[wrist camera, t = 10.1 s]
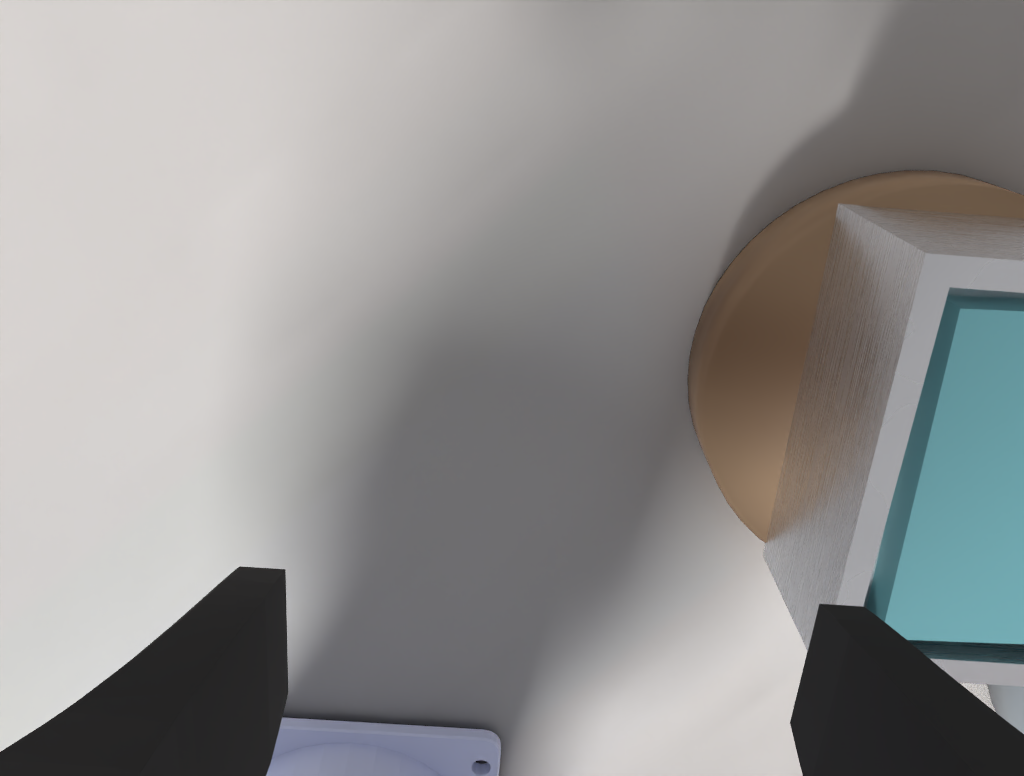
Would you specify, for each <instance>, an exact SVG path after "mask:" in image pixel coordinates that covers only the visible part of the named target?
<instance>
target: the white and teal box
mask: <svg viewBox="0 0 1024 776" xmlns="http://www.w3.org/2000/svg"><path fill="white" fill-rule="evenodd" d="M947 295H958V296H982V297H1005V298H1024V218H1013V217H1000V216H988V215H975V214H963V213H950V212H937V211H925V210H912V209H900V208H887V207H875V206H862V205H851V204H839V203H838V208H837V212H836V218H835V223H834V228H833V232H832V237H831V242H830V246H829V251H828V256H827V260H826V265H825V270H824V274H823V279H822V284H821V288H820V293H819V298H818V302H817V307H816V312H815V316H814V321H813V326H812V330H811V335H810V339H809V344H808V349H807V353H806V358H805V363H804V367H803V372H802V377H801V381H800V386H799V391H798V395H797V400H796V405H795V409H794V414H793V419H792V423H791V428H790V433H789V437H788V442H787V447H786V451H785V456H784V461H783V465H782V470H781V474H780V479H779V484H778V488H777V493H776V498H775V502H774V507H773V512H772V516H771V521H770V526H769V530H768V535H767V540H766V543H765V548H764V552H763V557H764V559H765V561H766V563H767V565H768V567H769V570H770V572H771V574H772V576H773V578H774V580H775V582H776V585H777V587H778V589H779V591H780V593H781V595H782V597H783V600H784V602H785V604H786V606H787V608H788V610H789V612H790V615H791V617H792V619H793V621H794V623H795V625H796V627H797V629H798V632H799V634H800V636H801V638H802V640H803V642H804V644H805V647H806V649H807V651H808V648H809V644H810V640H811V636H812V632H813V628H814V623H815V619H816V615H817V611H818V607H819V604H832V605H847V606H863V607H865V608H866V607H867V603H868V598H869V594H870V590H871V585H872V581H873V577H874V572H875V568H876V564H877V559H878V555H879V551H880V546H881V542H882V538H883V533H884V529H885V525H886V520H887V517H888V513H889V509H890V506H891V502H892V498H893V495H894V491H895V487H896V483H897V480H898V476H899V472H900V469H901V465H902V461H903V458H904V454H905V450H906V447H907V443H908V439H909V435H910V432H911V428H912V424H913V421H914V417H915V413H916V410H917V406H918V402H919V398H920V395H921V391H922V387H923V384H924V380H925V376H926V373H927V369H928V365H929V361H930V358H931V354H932V350H933V347H934V343H935V339H936V336H937V332H938V328H939V325H940V321H941V317H942V313H943V310H944V306H945V302H946V299H947ZM907 641H909V642H910V643H911V644H912V645H914V646H915V647H916V648H917V649H918V650H920V651H921V652H922V653H923V654H924V655H926V656H927V657H928V658H929V659H930V660H932V661H933V662H934V663H935V664H936V665H938V666H939V667H940V668H941V669H942V670H944V671H945V672H946V673H947V674H949V675H950V676H951V677H952V678H953V679H955V680H956V681H957V682H958V683H974V684H990V685H1006V686H1022V687H1024V644H1002V643H976V642H949V641H923V640H907Z"/></svg>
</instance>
